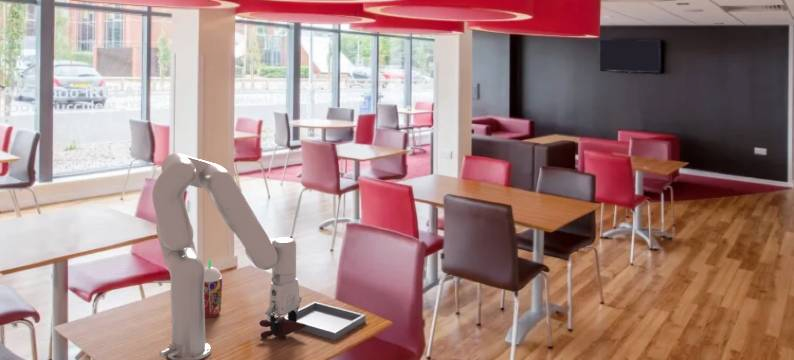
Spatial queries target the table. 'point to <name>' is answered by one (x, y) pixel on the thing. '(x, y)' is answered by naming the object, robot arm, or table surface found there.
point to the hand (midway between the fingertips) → (284, 328)
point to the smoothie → (212, 291)
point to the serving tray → (328, 320)
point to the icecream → (281, 327)
